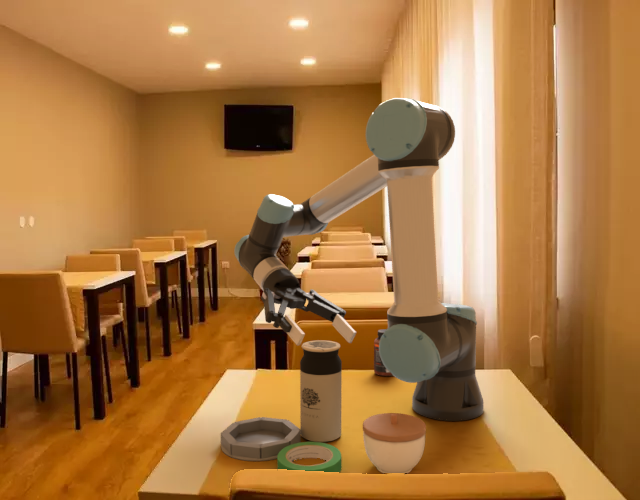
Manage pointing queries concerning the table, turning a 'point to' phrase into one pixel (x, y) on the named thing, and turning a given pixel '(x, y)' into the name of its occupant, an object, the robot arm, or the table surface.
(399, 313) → the robot arm
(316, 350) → the travel mug
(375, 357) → the supplement bottle
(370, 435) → the lidded jar
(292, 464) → the tape roll
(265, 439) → the socket ring
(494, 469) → the table surface
